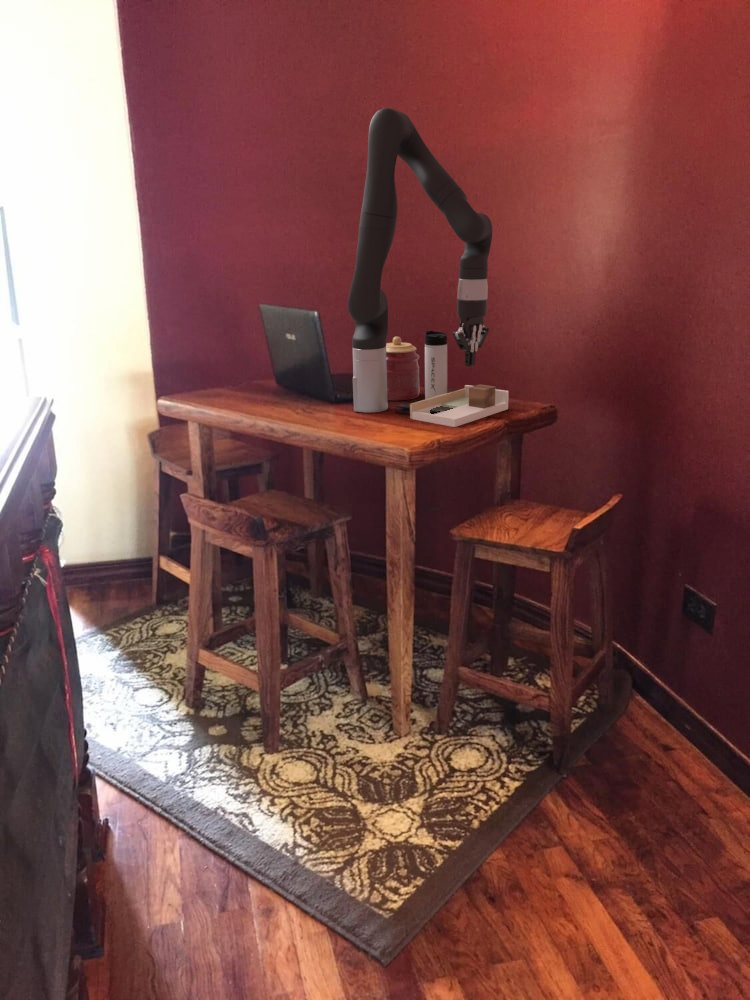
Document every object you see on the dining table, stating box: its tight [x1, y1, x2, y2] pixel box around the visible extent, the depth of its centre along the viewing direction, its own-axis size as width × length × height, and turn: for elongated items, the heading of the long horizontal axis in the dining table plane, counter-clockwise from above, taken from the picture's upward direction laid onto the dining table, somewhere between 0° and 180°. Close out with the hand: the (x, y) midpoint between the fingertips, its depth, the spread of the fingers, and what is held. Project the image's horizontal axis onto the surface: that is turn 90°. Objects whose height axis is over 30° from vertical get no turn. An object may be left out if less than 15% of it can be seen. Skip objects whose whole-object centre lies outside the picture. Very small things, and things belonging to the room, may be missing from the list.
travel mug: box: [424, 330, 448, 400], centre depth 218 cm, size 6×7×20 cm
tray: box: [409, 384, 510, 428], centre depth 208 cm, size 24×15×5 cm, turn 137°
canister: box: [386, 336, 421, 402], centre depth 228 cm, size 13×13×18 cm
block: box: [469, 383, 496, 408], centre depth 207 cm, size 5×5×5 cm
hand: (470, 366), depth 201 cm, fingers closed
